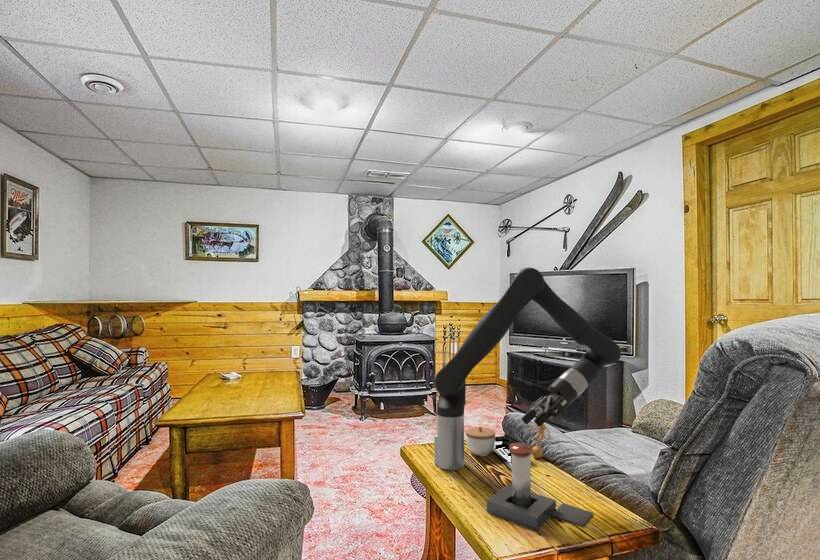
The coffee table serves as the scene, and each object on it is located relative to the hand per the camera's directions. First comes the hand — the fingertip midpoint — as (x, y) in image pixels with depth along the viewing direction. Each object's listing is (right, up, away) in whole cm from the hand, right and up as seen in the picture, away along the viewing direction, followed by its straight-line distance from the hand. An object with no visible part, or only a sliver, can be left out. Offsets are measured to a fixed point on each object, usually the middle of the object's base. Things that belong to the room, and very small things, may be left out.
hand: (530, 422), depth 123 cm
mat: (+8, -21, -11) cm, 25 cm away
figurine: (+11, -22, +28) cm, 38 cm away
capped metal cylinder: (-5, -21, -9) cm, 23 cm away
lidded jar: (-9, -22, +32) cm, 40 cm away
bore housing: (-5, -21, -9) cm, 23 cm away
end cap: (+1, -22, +29) cm, 36 cm away
